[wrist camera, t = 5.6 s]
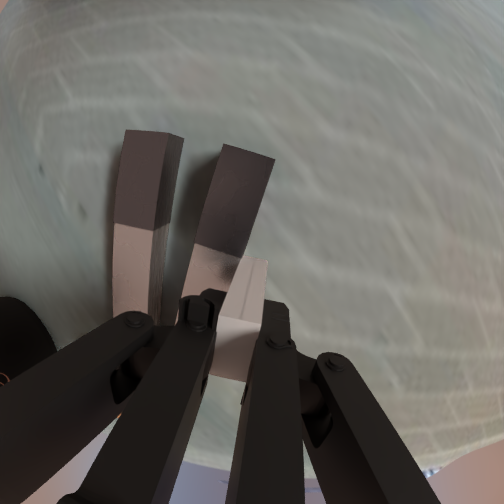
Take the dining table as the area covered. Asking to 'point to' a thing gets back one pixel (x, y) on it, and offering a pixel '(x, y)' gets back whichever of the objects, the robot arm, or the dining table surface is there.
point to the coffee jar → (21, 339)
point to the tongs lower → (143, 219)
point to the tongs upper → (227, 219)
